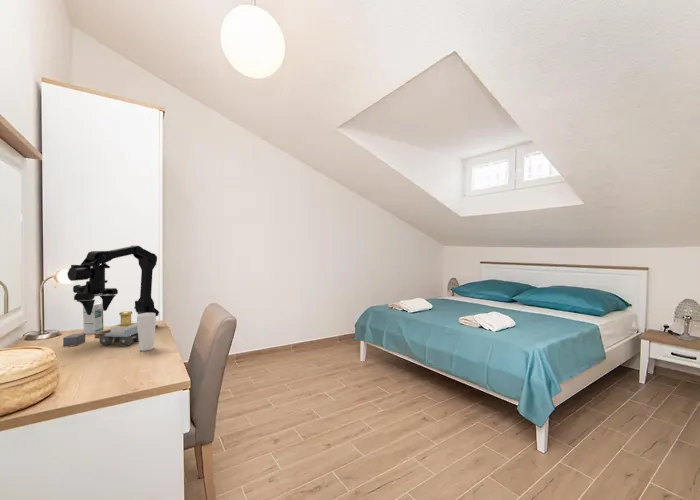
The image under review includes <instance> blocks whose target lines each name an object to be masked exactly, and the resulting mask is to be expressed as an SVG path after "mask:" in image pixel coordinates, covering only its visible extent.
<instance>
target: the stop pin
mask: <svg viewBox="0 0 700 500" xmlns="http://www.w3.org/2000/svg"><path fill="white" fill-rule="evenodd" d="M132 314H133V311H130V310H129V311H120V312H119V316H120V324H121V327H128V326H131V323H132Z"/></svg>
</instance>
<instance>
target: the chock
mask: <svg viewBox="0 0 700 500" xmlns="http://www.w3.org/2000/svg"><path fill="white" fill-rule="evenodd" d="M62 340H63V342H62V346H63V347H72V346H73V347H77V346H78V345H80V344H83V343H85V342H86V333H72V334H69V335H66V336H64V337H63V338H62Z"/></svg>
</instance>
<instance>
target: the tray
mask: <svg viewBox="0 0 700 500" xmlns="http://www.w3.org/2000/svg"><path fill="white" fill-rule="evenodd" d="M135 326H137V322H131V326H128V327H121V323H118V324H115V325H111V326H110V331H111V333H125V330H126V329H129V328H132V327H135Z"/></svg>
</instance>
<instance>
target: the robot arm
mask: <svg viewBox="0 0 700 500" xmlns="http://www.w3.org/2000/svg"><path fill="white" fill-rule="evenodd" d="M131 255H132V256H133V257H134V258H135V259H137V261H138V266H139V267H140V270H141V273H140V274H141V276H140V295H139V298H138V300H135V301H134V308H133V309H135V312H136V313H137V315H138V314H142V313H155V314H156V317H159V315H160V314H159V313H160V311H159V310H158V309H157V308H156V307H155V302H154V299H153V298H152V289H153V271H154V269H155V267H156V266H157V262H158V256H157V255H156V253H153V252H151V251H148V250H147V249H145V248H143V247H142V246H140V245H130V246H125V247H121V248H115V249H110V250H91V251H89V252H88V253H87V254H86V257H85V259H84V260H83V261H82V262H81V263H80V264H71V265H70V268H68V272H67V278H68V279H69V280H70V281H71V282H74V281H75V282H76V281H86V280H87V281H86V282H85V285H80V284H76V285H73V288H72V292H73V294H74V295H73V299H74V301H76V302H77V303H80V304H82V307H83V306H84V308H85V310H86V312H87V315H91V312H92V309H93V305H94V303H96V302H95V301H96V299H95V297H100V299H101V300H102V302H101V303H103V312H106V311H107V310H108V309H109V306H110V305H111V303H112V302H113V300H114V298H115V297H116V295H118V294H119V293H118V292H119V291H118V290H119V289H117V288H116V287H106V284H107V283H108V279H106V269H110V268H111V266H110V265H109V264H108V262H110V261H112V260H113V259H117V258H121V257H126V256H127V257H128V256H131ZM158 326H159V325H158V324H156V326H155V328H156V327H158Z"/></svg>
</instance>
